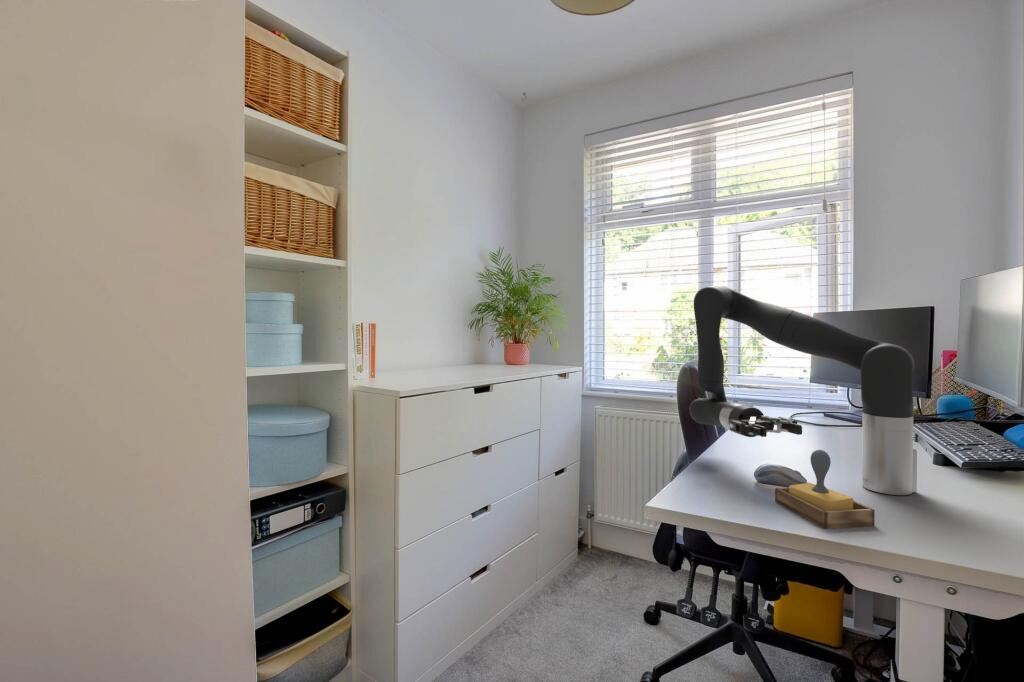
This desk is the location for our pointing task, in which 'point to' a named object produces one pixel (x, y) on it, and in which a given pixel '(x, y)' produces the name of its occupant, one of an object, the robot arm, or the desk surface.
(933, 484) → the desk surface
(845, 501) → the rubber stamp
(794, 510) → the tray
